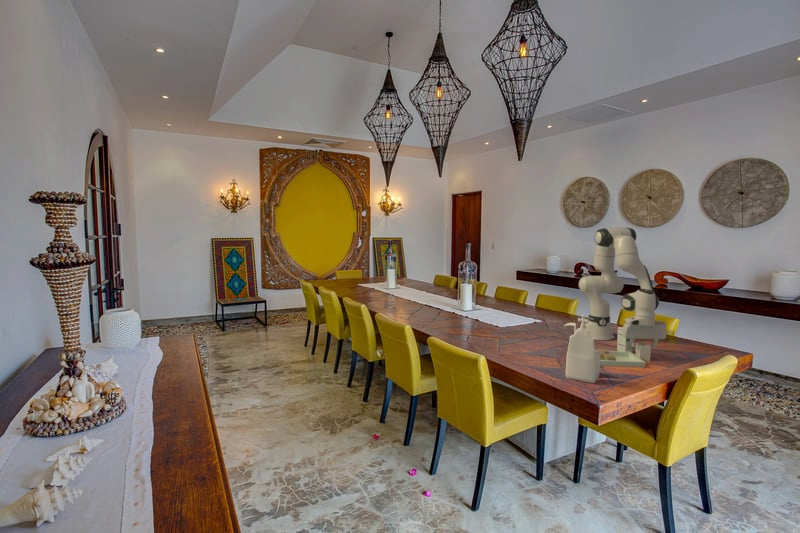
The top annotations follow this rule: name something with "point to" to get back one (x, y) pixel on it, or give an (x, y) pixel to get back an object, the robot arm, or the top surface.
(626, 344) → the syrup box
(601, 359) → the maple block
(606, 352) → the maple block
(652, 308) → the robot arm
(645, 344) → the cream hollow square tube
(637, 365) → the tray
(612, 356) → the maple block
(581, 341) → the cream tall nozzled container
